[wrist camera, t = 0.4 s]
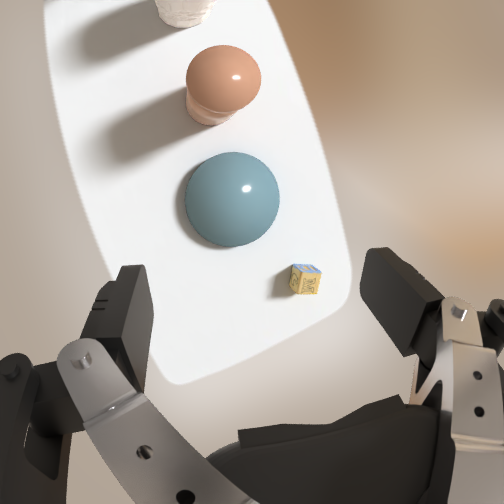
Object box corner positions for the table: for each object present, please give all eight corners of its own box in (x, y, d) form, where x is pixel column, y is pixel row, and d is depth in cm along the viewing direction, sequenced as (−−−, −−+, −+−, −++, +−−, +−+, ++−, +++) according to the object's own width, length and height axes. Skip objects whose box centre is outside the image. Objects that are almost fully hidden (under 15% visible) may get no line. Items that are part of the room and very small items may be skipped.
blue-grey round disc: (175, 164, 32) (175, 164, 31) (267, 145, 34) (270, 144, 33) (197, 254, 36) (198, 257, 35) (283, 232, 38) (286, 234, 37)
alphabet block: (312, 264, 40) (322, 272, 37) (308, 286, 41) (318, 294, 38) (292, 263, 39) (300, 271, 36) (288, 285, 40) (296, 294, 37)
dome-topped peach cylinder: (179, 82, 30) (180, 51, 20) (233, 73, 31) (253, 41, 21) (189, 132, 32) (193, 118, 22) (243, 121, 33) (267, 105, 23)
